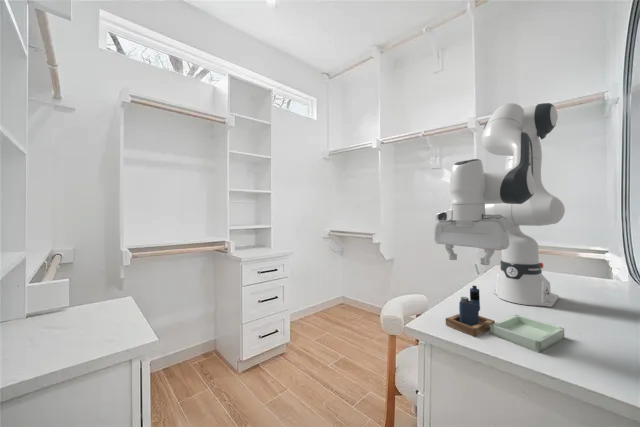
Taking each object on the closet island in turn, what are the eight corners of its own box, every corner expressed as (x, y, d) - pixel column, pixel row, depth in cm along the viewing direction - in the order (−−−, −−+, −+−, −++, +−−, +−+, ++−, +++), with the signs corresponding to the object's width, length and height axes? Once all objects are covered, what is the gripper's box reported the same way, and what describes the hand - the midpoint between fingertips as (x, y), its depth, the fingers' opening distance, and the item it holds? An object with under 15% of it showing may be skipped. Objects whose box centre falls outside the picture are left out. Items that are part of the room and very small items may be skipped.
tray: (516, 323, 76) (516, 314, 76) (564, 338, 66) (564, 328, 66) (490, 334, 69) (490, 325, 69) (539, 352, 59) (539, 342, 59)
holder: (466, 317, 80) (466, 311, 80) (494, 327, 73) (494, 320, 73) (445, 325, 75) (445, 318, 75) (473, 336, 68) (473, 329, 68)
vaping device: (480, 330, 71) (479, 287, 71) (459, 325, 74) (458, 285, 74) (481, 327, 73) (480, 285, 73) (460, 322, 76) (459, 283, 77)
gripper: (513, 214, 66) (514, 267, 66) (443, 215, 84) (443, 256, 84) (500, 214, 63) (502, 269, 63) (430, 215, 81) (431, 258, 81)
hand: (468, 262), depth 74 cm, fingers open, 8 cm apart
